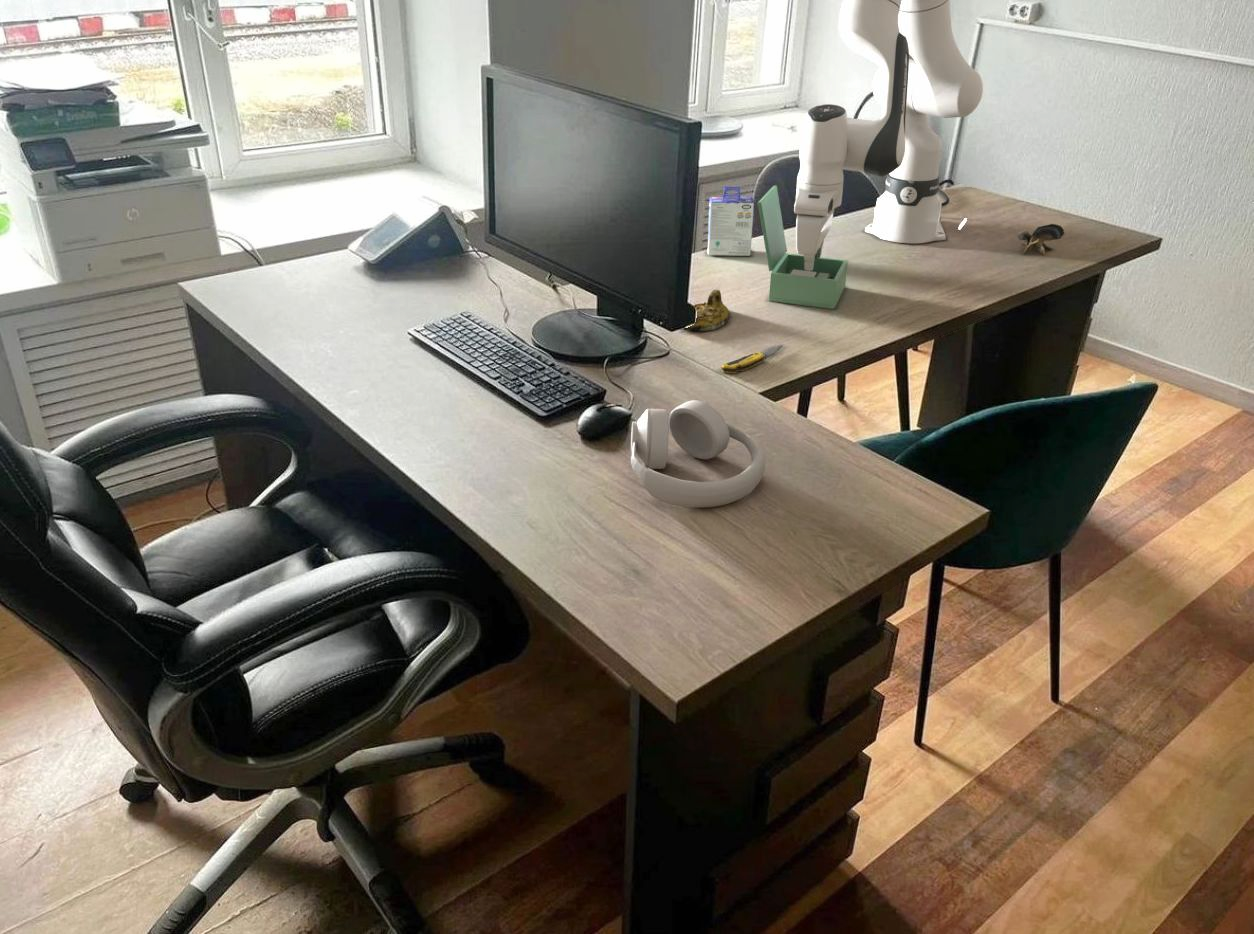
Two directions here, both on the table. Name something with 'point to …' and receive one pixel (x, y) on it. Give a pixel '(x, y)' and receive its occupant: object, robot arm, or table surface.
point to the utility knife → (749, 360)
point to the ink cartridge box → (730, 224)
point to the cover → (772, 227)
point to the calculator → (810, 274)
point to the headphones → (699, 437)
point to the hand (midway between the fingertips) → (812, 263)
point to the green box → (808, 282)
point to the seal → (710, 313)
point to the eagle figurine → (1040, 237)
